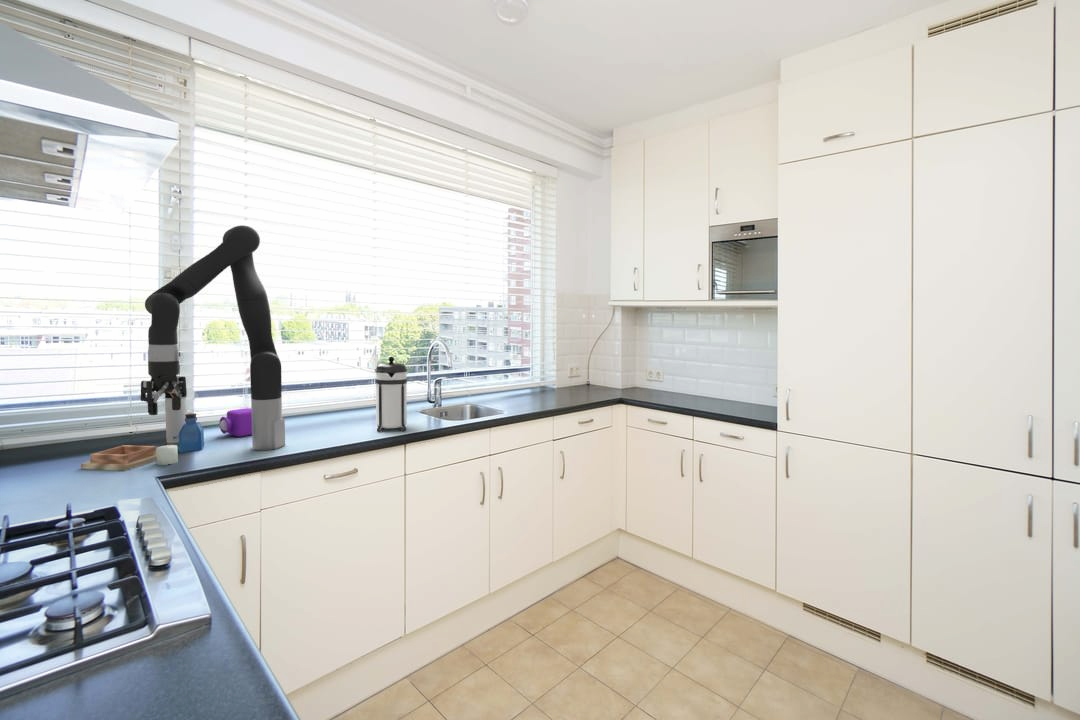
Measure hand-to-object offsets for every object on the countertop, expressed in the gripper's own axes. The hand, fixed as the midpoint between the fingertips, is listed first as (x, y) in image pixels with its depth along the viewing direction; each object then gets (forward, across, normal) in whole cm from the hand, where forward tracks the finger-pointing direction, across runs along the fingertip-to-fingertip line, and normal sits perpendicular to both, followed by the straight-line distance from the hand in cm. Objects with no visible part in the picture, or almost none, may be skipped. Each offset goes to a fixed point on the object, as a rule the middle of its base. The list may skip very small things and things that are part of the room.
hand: (165, 412), depth 152 cm
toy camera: (+16, +38, +3) cm, 41 cm away
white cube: (+16, 0, 0) cm, 16 cm away
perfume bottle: (+16, +16, +5) cm, 23 cm away
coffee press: (+15, +58, -48) cm, 77 cm away
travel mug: (+16, +22, +15) cm, 31 cm away
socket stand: (+16, -2, +12) cm, 20 cm away
